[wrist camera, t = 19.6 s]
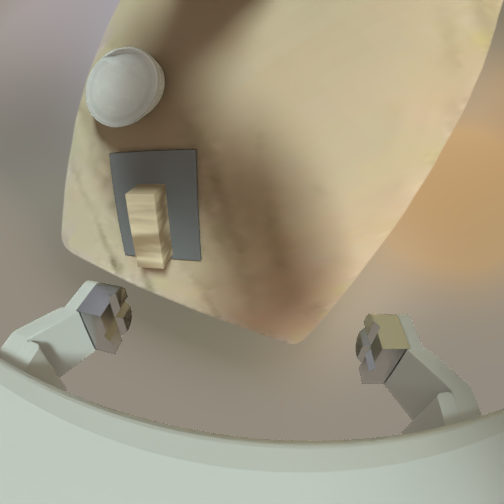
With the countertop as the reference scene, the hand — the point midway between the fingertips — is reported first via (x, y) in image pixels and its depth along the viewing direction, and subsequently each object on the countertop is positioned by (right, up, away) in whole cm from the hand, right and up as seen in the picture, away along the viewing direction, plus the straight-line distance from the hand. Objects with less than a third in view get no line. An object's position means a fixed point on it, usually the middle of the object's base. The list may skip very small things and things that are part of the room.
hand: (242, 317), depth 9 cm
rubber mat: (-15, +9, +34) cm, 38 cm away
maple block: (-15, +1, +35) cm, 38 cm away
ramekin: (-16, +26, +24) cm, 39 cm away
